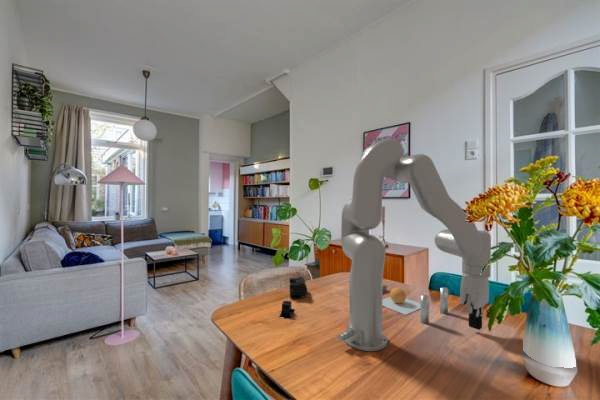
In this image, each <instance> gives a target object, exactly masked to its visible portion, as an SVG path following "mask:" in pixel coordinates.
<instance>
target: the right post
mask: <svg viewBox="0 0 600 400" xmlns="http://www.w3.org/2000/svg"><path fill="white" fill-rule="evenodd" d="M439 289H440V290H439V291H440V293H439V294H440V295H439V296H440V297H439V302H440V303H439V312H441V313H440V314H442V313H443V314H442V315H448V314H449V288H448V287H445V286H442V287H440V288H439Z"/></svg>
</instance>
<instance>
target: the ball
mask: <svg viewBox="0 0 600 400" xmlns="http://www.w3.org/2000/svg"><path fill="white" fill-rule="evenodd" d="M389 297H391V299H392V301H393V302H395V303H397V304H400V303H403V302H404V301H405V299H407V295H406V292H405V291H404V289H402V288H401V287H394V288H392V289H391V291H390V292H389Z"/></svg>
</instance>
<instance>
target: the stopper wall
mask: <svg viewBox="0 0 600 400" xmlns="http://www.w3.org/2000/svg"><path fill="white" fill-rule="evenodd" d="M387 287H388V286H387V284H385V283H382V293H384V292H386V291H387V290H388V289H387Z"/></svg>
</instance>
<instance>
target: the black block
mask: <svg viewBox="0 0 600 400" xmlns="http://www.w3.org/2000/svg"><path fill="white" fill-rule="evenodd" d="M292 305H293V304H292V300H283V302H282V304H281V310H282V311H281V310H280V312H281V314H280V313H279V314H280V316H279V315H278V316H279V317H284V318H283V319H286V318H289V320H290V319H293V316H294V313H295V311H296V309H295V308H293V307H292Z"/></svg>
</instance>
